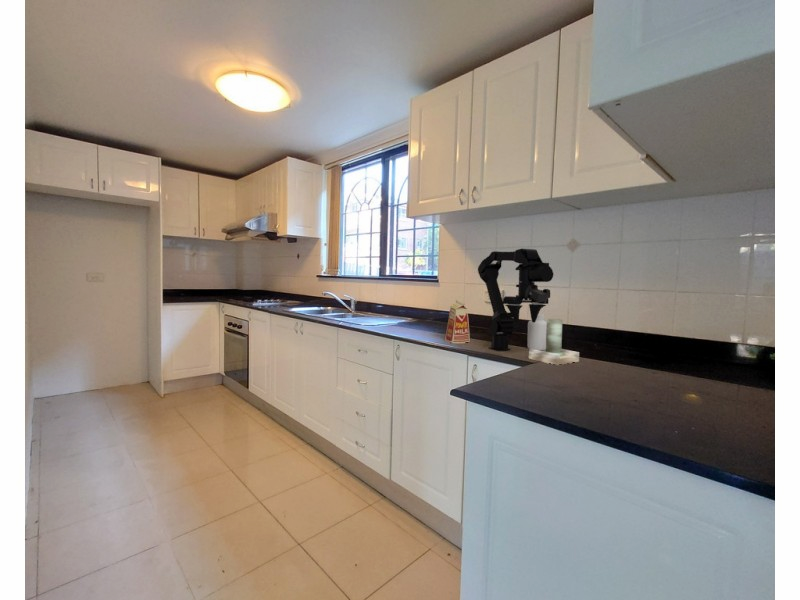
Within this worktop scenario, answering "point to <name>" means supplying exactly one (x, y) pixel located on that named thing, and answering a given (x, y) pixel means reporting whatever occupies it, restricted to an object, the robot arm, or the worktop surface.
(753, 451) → the worktop surface
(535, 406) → the worktop surface
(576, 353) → the mottled cream slab
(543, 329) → the pill bottle
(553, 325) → the pale green cylinder
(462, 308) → the milk carton
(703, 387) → the worktop surface
